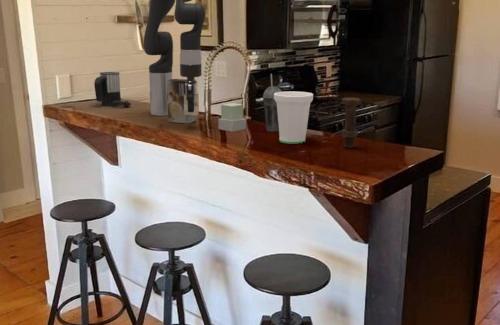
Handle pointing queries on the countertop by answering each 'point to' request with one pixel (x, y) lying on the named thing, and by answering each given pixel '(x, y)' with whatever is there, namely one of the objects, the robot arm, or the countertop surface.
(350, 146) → the bolt
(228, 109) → the sage cube
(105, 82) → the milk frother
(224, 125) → the slab
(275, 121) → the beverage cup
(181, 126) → the countertop surface
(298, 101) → the cup
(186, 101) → the birch block
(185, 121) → the coffee box
